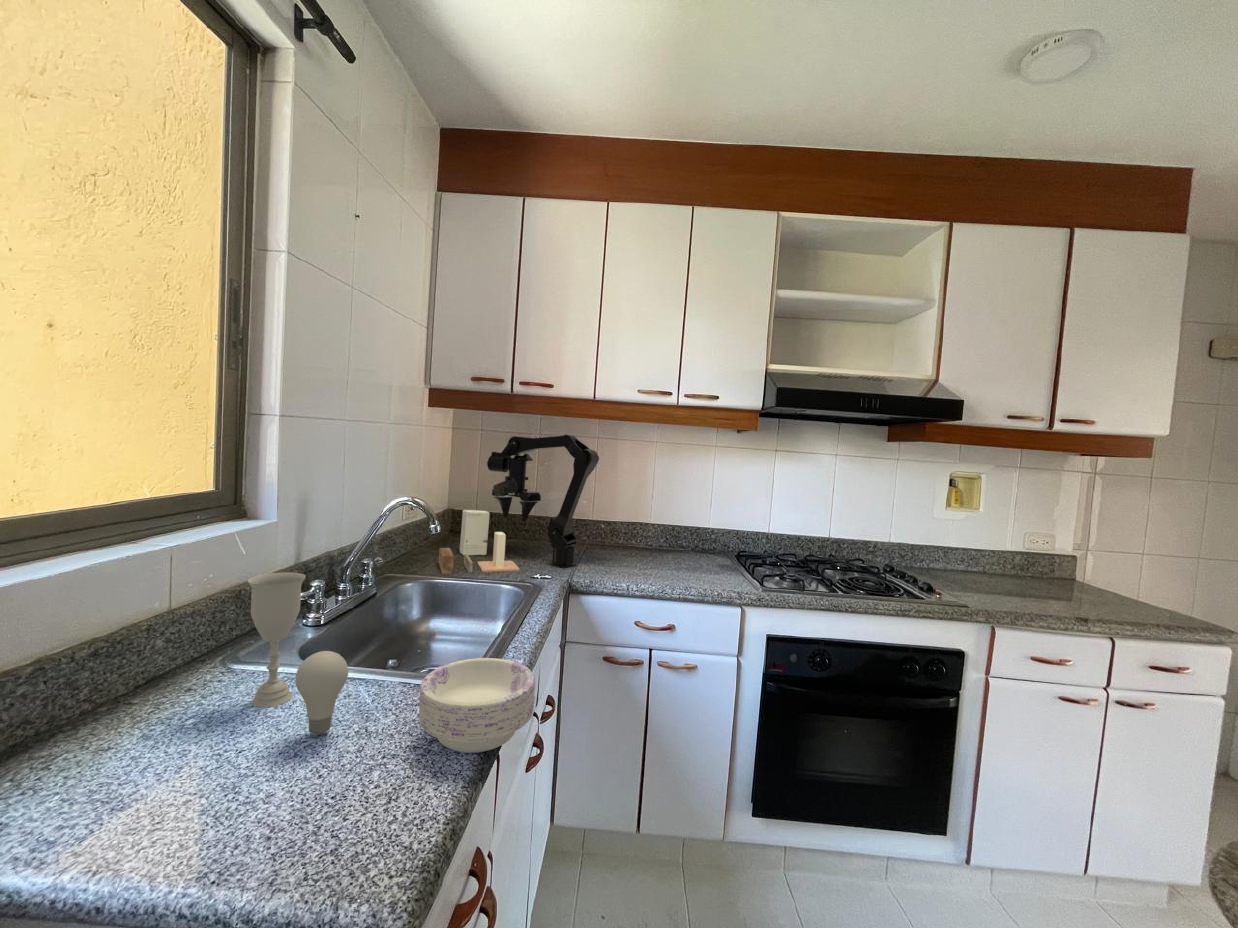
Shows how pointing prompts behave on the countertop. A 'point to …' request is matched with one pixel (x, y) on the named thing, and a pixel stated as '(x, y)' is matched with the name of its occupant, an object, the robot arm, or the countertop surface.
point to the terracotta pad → (489, 567)
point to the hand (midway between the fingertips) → (514, 519)
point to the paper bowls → (476, 703)
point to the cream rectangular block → (499, 549)
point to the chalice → (274, 626)
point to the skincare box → (474, 532)
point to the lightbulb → (321, 687)
